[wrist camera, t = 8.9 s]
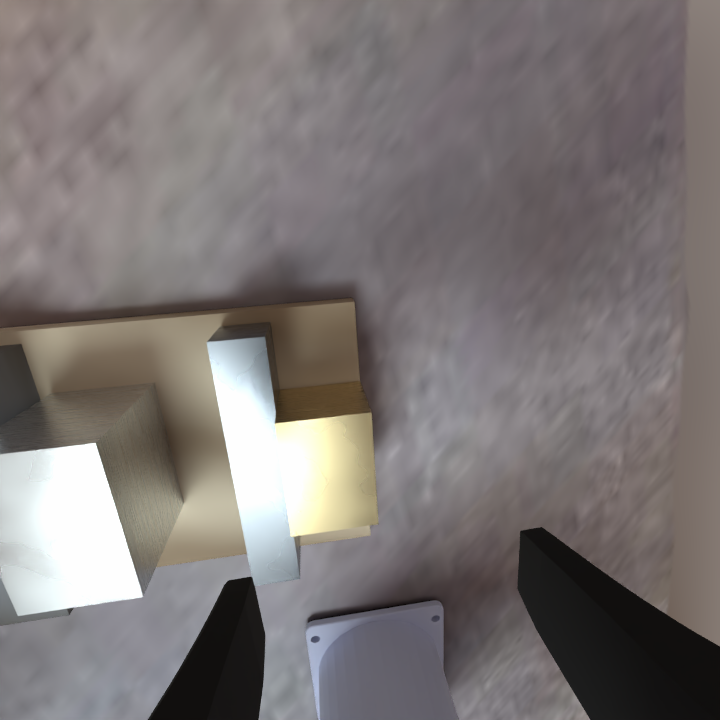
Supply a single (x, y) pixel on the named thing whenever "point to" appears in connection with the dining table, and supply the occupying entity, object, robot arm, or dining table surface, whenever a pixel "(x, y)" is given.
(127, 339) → the vise
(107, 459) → the steel block
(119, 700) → the dining table surface
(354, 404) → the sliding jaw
